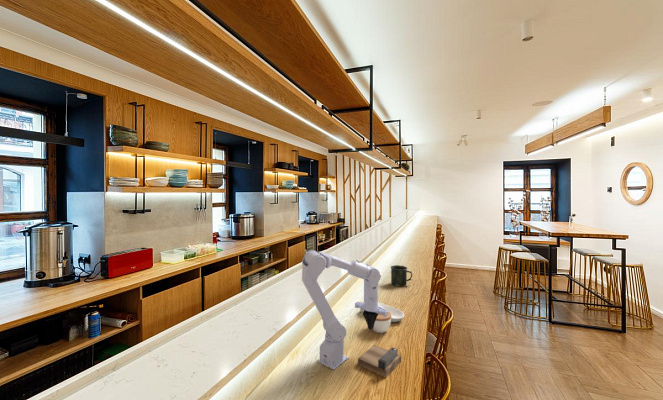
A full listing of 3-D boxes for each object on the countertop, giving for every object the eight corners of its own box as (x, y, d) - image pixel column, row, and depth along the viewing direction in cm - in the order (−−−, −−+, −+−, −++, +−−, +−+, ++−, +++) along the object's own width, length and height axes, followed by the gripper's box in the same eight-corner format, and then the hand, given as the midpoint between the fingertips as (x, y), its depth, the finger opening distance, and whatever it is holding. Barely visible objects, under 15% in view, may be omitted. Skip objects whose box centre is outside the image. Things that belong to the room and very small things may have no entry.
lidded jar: (373, 336, 130) (373, 316, 130) (364, 326, 141) (364, 307, 140) (395, 333, 133) (395, 313, 133) (385, 323, 143) (385, 304, 143)
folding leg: (392, 352, 113) (392, 346, 113) (398, 355, 111) (398, 348, 111) (378, 367, 104) (378, 360, 104) (384, 369, 102) (384, 362, 102)
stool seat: (386, 377, 102) (386, 370, 102) (357, 364, 110) (357, 358, 110) (401, 361, 112) (401, 355, 112) (374, 350, 119) (374, 344, 119)
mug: (391, 281, 207) (391, 264, 207) (412, 283, 203) (412, 266, 202) (389, 286, 197) (389, 268, 196) (411, 288, 192) (412, 270, 192)
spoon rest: (407, 318, 149) (407, 304, 149) (398, 327, 139) (399, 313, 139) (366, 307, 162) (366, 295, 162) (356, 315, 153) (356, 302, 152)
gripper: (391, 297, 117) (391, 330, 117) (361, 289, 126) (361, 320, 126) (383, 302, 111) (382, 337, 112) (352, 294, 120) (352, 326, 121)
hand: (370, 328), depth 119 cm, fingers closed
